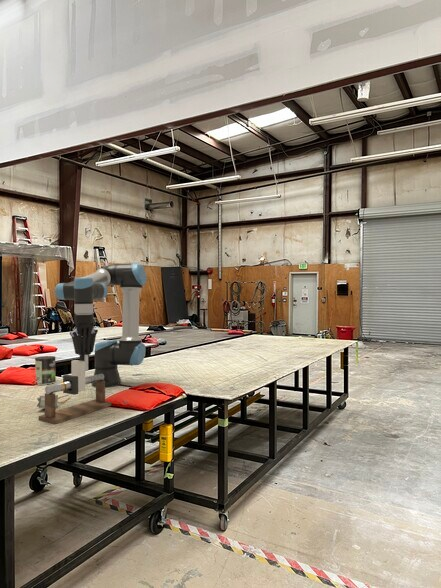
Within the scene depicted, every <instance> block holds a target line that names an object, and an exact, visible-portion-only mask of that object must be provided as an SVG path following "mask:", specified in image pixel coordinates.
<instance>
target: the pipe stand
mask: <svg viewBox="0 0 441 588" xmlns="http://www.w3.org/2000/svg"><path fill="white" fill-rule="evenodd" d="M55 395H56V392H55V393H51V394H47V393H46V392H45V393H44V396H45V408H44V414H41V415H38V421H41V422H45V423H49V424H54V425H58V424H60V423H63V422H66V421H68V420H71V419H75V418H79V417H81V416H84V415H86V414H90V413H93V412H96V411H99V410H102V409H106V408H108V407H111V406H112V402H111V401H107V400H106V387H105V381H103V380H102V381H98V382H96V387H95V398H94V399H91V400H87V401H85V402H81V403H77V404H74V405H71V406H68V407H64V408H61V409H57V410H56V407H55Z"/></svg>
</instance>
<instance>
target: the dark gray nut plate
mask: <svg viewBox="0 0 441 588" xmlns="http://www.w3.org/2000/svg"><path fill="white" fill-rule="evenodd" d="M69 380H71V381H72V389H67V390H64V391H62V393H63V394H66V395H69V394H70V395H73V396H76V395H78V394H79V392H78V376H72V374H71V375H70V374H64V375H62V382H68V381H69Z"/></svg>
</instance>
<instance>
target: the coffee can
mask: <svg viewBox="0 0 441 588" xmlns="http://www.w3.org/2000/svg"><path fill="white" fill-rule="evenodd" d="M34 362H35V366H34V367H35V368H34V369H35V370H34V371H35V372H34V373H35V380H36V379H37V384H38V385H37V386H48V385H47V384H49V385H53V384H56V382H57V380H56V377H57V376H56V356H53V355H52V356H51V355H47V356H46V355H44V356H38V357H35V358H34ZM52 383H53V384H52Z"/></svg>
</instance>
